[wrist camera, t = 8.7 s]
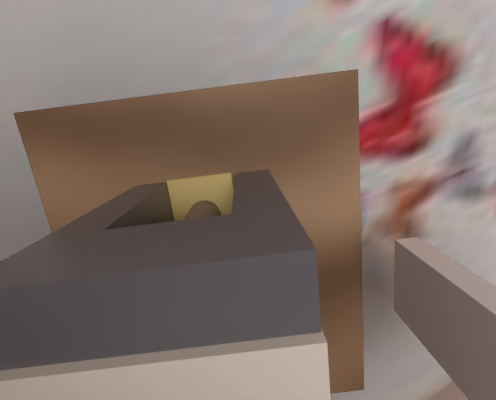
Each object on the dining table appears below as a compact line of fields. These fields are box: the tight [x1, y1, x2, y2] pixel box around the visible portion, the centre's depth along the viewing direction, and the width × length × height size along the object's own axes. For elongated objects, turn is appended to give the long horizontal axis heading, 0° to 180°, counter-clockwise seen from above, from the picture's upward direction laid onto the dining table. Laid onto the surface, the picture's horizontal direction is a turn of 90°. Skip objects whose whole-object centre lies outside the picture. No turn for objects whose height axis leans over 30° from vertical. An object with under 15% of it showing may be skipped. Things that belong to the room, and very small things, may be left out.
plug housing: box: [0, 169, 331, 400], centre depth 8 cm, size 9×5×7 cm, turn 7°
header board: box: [14, 69, 364, 394], centre depth 10 cm, size 14×12×6 cm
